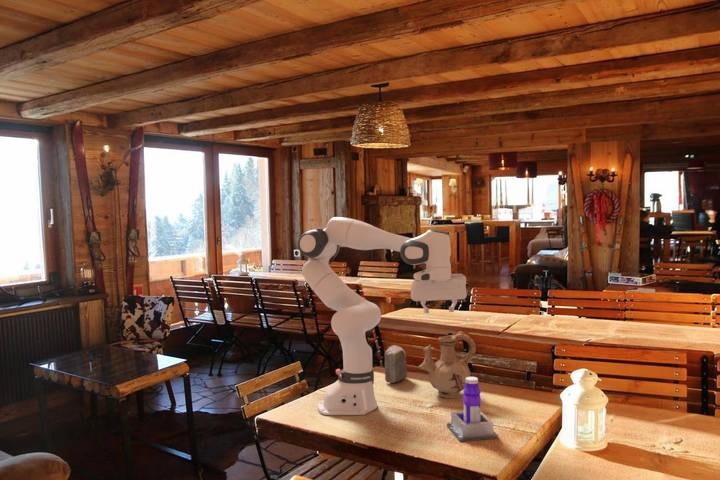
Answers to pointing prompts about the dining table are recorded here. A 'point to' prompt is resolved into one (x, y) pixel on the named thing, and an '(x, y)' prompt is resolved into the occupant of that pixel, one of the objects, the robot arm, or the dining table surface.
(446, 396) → the ceramic vessel
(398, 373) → the geological specimen
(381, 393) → the dining table surface
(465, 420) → the bottle
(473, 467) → the dining table surface
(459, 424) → the bottle holder
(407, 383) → the dining table surface
